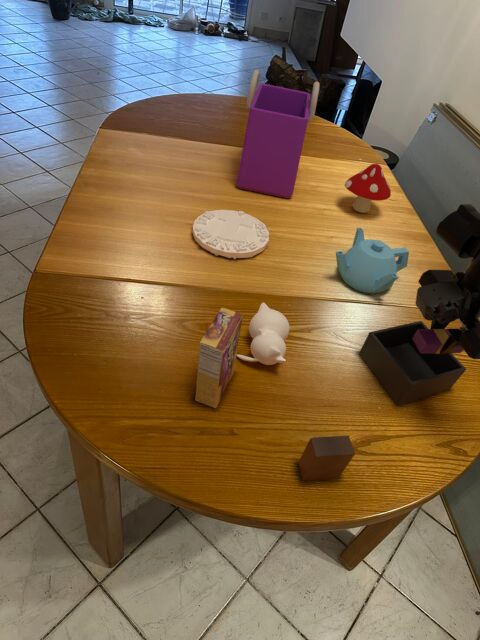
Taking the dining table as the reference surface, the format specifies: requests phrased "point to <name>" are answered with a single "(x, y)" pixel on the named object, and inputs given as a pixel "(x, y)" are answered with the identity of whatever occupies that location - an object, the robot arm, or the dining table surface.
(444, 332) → the chocolate bar
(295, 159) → the shopping bag
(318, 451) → the block stand
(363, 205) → the decorative mushroom
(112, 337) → the dining table surface
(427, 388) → the waste bin
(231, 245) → the white round plaque
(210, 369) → the candy box
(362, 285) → the teakettle
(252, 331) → the cat figurine
